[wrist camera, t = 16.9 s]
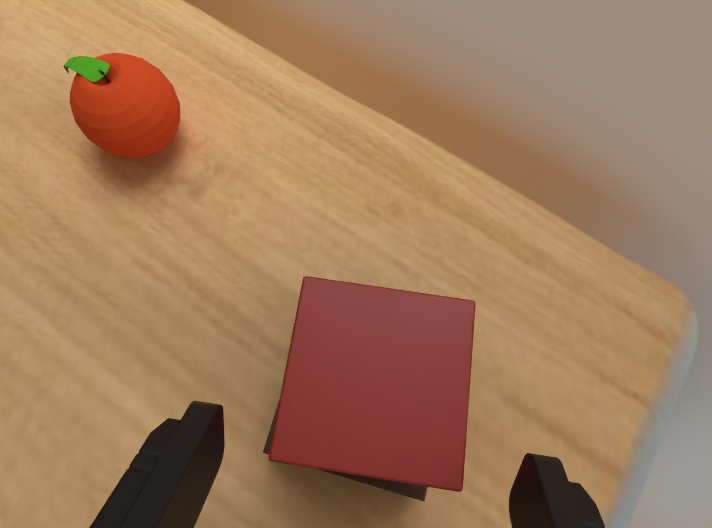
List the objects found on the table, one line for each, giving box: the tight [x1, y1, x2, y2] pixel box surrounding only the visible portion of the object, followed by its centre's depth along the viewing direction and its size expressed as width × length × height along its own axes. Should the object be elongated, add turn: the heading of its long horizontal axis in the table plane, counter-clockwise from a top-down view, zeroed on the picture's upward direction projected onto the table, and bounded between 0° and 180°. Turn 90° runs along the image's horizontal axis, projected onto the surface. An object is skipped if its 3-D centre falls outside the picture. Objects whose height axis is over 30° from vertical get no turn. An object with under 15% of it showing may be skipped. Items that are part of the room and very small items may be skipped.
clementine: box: [64, 53, 180, 158], centre depth 32 cm, size 8×7×7 cm
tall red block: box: [269, 276, 475, 492], centre depth 17 cm, size 5×5×10 cm
